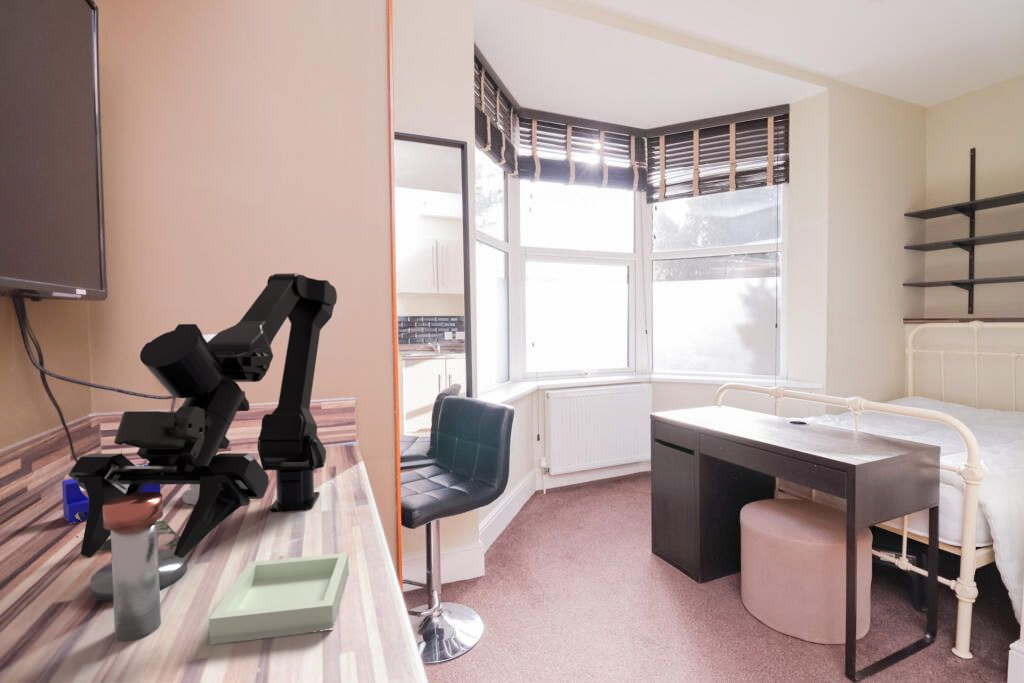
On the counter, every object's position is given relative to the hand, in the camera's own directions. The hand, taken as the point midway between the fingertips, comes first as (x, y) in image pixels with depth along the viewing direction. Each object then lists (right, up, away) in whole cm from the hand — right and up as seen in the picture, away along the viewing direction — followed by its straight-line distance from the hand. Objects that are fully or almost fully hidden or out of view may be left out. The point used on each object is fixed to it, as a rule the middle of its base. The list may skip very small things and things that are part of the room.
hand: (131, 556), depth 47 cm
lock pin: (0, -8, +1) cm, 8 cm away
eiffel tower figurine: (-17, -8, +21) cm, 28 cm away
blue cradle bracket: (-28, -7, +32) cm, 43 cm away
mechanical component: (-15, -7, +39) cm, 42 cm away
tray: (+13, -7, +5) cm, 16 cm away
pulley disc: (-7, -7, +10) cm, 14 cm away
